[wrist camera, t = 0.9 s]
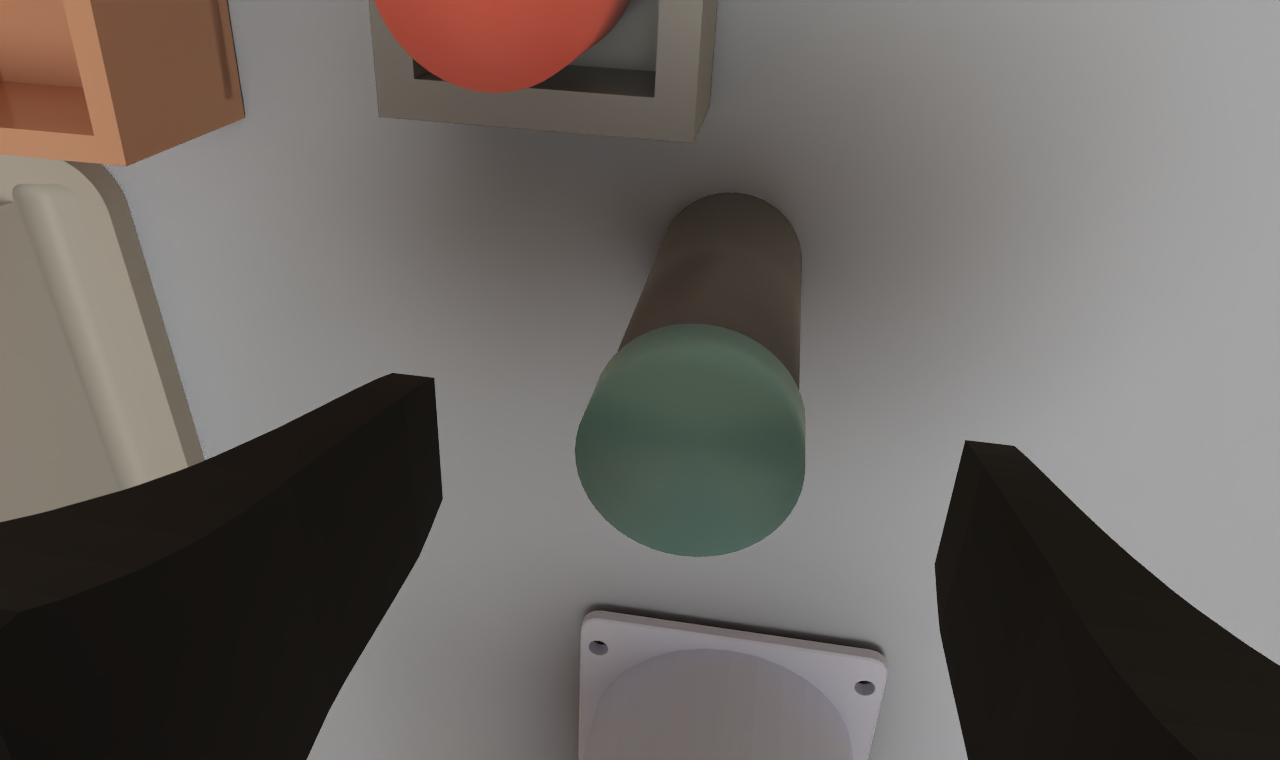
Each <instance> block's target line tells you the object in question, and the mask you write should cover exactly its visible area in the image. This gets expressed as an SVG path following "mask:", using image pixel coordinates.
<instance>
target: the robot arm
mask: <svg viewBox="0 0 1280 760" xmlns="http://www.w3.org/2000/svg"><path fill="white" fill-rule="evenodd" d="M442 499H443V497H442V482H441V468H440V454H439V440H438V426H437V412H436V398H435V384H434V378H430V377H422V376H413V375H405V374H396V373H391V374H389V375H386V376H383V377H381V378H378V379H376V380H374V381H372V382H370V383H367V384H365V385H363V386H361V387H359V388H357V389H355V390H353V391H351V392H349V393H347V394H345V395H343V396H341V397H339V398H337V399H335V400H333V401H331V402H329V403H327V404H325V405H323V406H321V407H319V408H317V409H315V410H313V411H311V412H309V413H307V414H305V415H303V416H301V417H299V418H297V419H295V420H293V421H291V422H289V423H287V424H285V425H283V426H281V427H279V428H277V429H275V430H272V431H270V432H268V433H266V434H264V435H261V436H259V437H257V438H255V439H252V440H250V441H248V442H246V443H244V444H241V445H239V446H237V447H235V448H233V449H230V450H228V451H226V452H224V453H221V454H219V455H217V456H215V457H212V458H210V459H207V460H205V461H203V462H200V463H198V464H195V465H192V466H190V467H187V468H185V469H182V470H180V471H177V472H174V473H171V474H168V475H166V476H163V477H160V478H157V479H154V480H151V481H149V482H146V483H143V484H140V485H137V486H134V487H131V488H128V489H125V490H121V491H118V492H114V493H111V494H107V495H104V496H100V497H97V498H93V499H90V500H86V501H82V502H79V503H75V504H72V505H68V506H65V507H61V508H58V509H54V510H51V511H47V512H43V513H39V514H34V515H30V516H26V517H21V518H17V519H12V520H8V521H4V522H0V760H306V759H307V757H308V755H309V753H310V751H311V749H312V746H313V744H314V742H315V740H316V738H317V735H318V733H319V731H320V729H321V727H322V725H323V722H324V720H325V718H326V716H327V714H328V712H329V710H330V708H331V706H332V704H333V702H334V700H335V698H336V697H337V695H338V693H339V691H340V689H341V687H342V685H343V684H344V682H345V680H346V678H347V677H348V675H349V673H350V672H351V670H352V668H353V667H354V665H355V663H356V662H357V660H358V658H359V657H360V655H361V653H362V652H363V650H364V648H365V647H366V645H367V643H368V642H369V640H370V638H371V637H372V635H373V633H374V632H375V630H376V628H377V627H378V625H379V623H380V622H381V620H382V619H383V617H384V615H385V614H386V612H387V610H388V609H389V607H390V605H391V604H392V602H393V600H394V599H395V597H396V595H397V593H398V592H399V590H400V588H401V587H402V585H403V583H404V582H405V580H406V578H407V576H408V575H409V573H410V571H411V570H412V568H413V566H414V564H415V563H416V561H417V559H418V557H419V555H420V553H421V551H422V548H423V546H424V544H425V541H426V539H427V537H428V534H429V532H430V530H431V527H432V524H433V522H434V519H435V517H436V514H437V512H438V509H439V507H440V504H441V502H442ZM935 574H936V590H937V604H938V615H939V627H940V634H941V638H942V643H943V648H944V653H945V657H946V662H947V667H948V671H949V676H950V680H951V685H952V689H953V694H954V698H955V703H956V707H957V712H958V716H959V721H960V725H961V729H962V734H963V738H964V743H965V747H966V752H967V756H968V760H1280V666H1279V665H1278V664H1276V663H1274V662H1273V661H1271V660H1270V659H1268V658H1267V657H1265V656H1264V655H1262V654H1261V653H1259V652H1257V651H1256V650H1254V649H1253V648H1251V647H1250V646H1248V645H1247V644H1245V643H1244V642H1242V641H1241V640H1239V639H1238V638H1237V637H1235V636H1234V635H1232V634H1231V633H1230V632H1228V631H1227V630H1225V629H1224V628H1223V627H1221V626H1220V625H1218V624H1217V623H1216V622H1214V621H1213V620H1211V619H1210V618H1209V617H1207V616H1206V615H1204V614H1203V613H1202V612H1200V611H1199V610H1197V609H1196V608H1195V607H1193V606H1192V605H1191V604H1189V603H1188V602H1187V601H1185V600H1184V599H1183V598H1182V597H1180V596H1179V595H1178V594H1176V593H1175V592H1174V591H1173V590H1171V589H1170V588H1169V587H1168V586H1166V585H1165V584H1164V583H1163V582H1162V581H1160V580H1159V579H1158V578H1157V577H1156V576H1154V575H1153V574H1152V573H1151V572H1150V571H1148V570H1147V569H1146V568H1145V567H1144V566H1142V565H1141V564H1140V563H1139V562H1138V561H1136V560H1135V559H1134V558H1133V557H1132V556H1131V555H1129V554H1128V553H1127V552H1126V551H1125V550H1124V549H1123V548H1121V547H1120V546H1119V545H1118V544H1117V543H1116V542H1115V541H1114V540H1112V539H1111V538H1110V537H1109V536H1108V535H1107V534H1106V533H1105V532H1104V531H1103V530H1102V529H1101V528H1099V527H1098V526H1097V525H1096V524H1095V523H1094V522H1093V521H1092V520H1091V519H1090V518H1089V517H1088V516H1087V515H1086V514H1085V513H1084V512H1083V511H1082V510H1080V509H1079V508H1078V507H1077V506H1076V505H1075V504H1074V503H1073V502H1072V501H1071V500H1070V499H1069V498H1068V497H1067V496H1066V495H1065V494H1064V493H1063V492H1062V491H1061V490H1060V489H1059V488H1058V487H1057V486H1056V485H1055V484H1054V483H1053V482H1052V481H1051V480H1050V479H1049V478H1048V477H1047V476H1046V475H1045V474H1044V473H1043V472H1042V471H1041V470H1040V469H1039V468H1038V467H1037V466H1036V465H1035V464H1033V463H1032V462H1031V461H1030V460H1029V459H1028V458H1027V457H1026V456H1025V455H1024V454H1023V453H1022V452H1021V451H1019V450H1018V449H1017V448H1016V447H1015V446H1010V445H1001V444H993V443H984V442H976V441H967V440H965V444H964V448H963V452H962V456H961V460H960V464H959V468H958V472H957V476H956V481H955V485H954V489H953V493H952V497H951V501H950V505H949V509H948V513H947V517H946V521H945V525H944V529H943V533H942V537H941V541H940V545H939V549H938V553H937V558H936V562H935ZM594 641H601V642H604V643H605V644H606V645H600V644H597V643H595V642H594ZM887 676H888V672H887V661H886V659H885V658H884V656H883V655H881V654H880V653H879V652H877V651H873V650H870V649H863V648H856V647H849V646H842V645H835V644H828V643H821V642H814V641H808V640H801V639H794V638H787V637H780V636H773V635H766V634H759V633H752V632H746V631H739V630H732V629H725V628H718V627H711V626H704V625H697V624H691V623H684V622H677V621H670V620H663V619H656V618H649V617H642V616H635V615H629V614H622V613H615V612H608V611H592V612H590V613H588V614H587V615H586V616H585V617H584V620H583V624H582V627H581V639H580V696H579V752H578V760H868V758H869V754H870V749H871V745H872V741H873V736H874V732H875V728H876V723H877V719H878V715H879V711H880V706H881V702H882V698H883V693H884V689H885V685H886V680H887ZM859 681H869V682H871V683H869V684H861V683H858V682H859Z"/></svg>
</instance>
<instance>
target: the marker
mask: <svg viewBox="0 0 1280 760" xmlns="http://www.w3.org/2000/svg"><path fill="white" fill-rule="evenodd" d="M801 273H802V256H801V248H800V244H799V241H798V238H797V235H796V233H795V231H794V229H793V227H792V226H791V224H790V223H789V222H788V220H787V219H786V218H785V217H784V216H783V215H782V214H781V212H779V211H778V210H777V209H776V208H774V207H773V206H772V205H770V204H768V203H767V202H765V201H763V200H761V199H758V198H756V197H753V196H749V195H746V194H739V193H722V194H715V195H711V196H708V197H705V198H702V199H700V200H698V201H696V202H694V203H692V204H691V205H689V206H688V207H687V208H685V209H684V210H683V211H682V212H681V213H680V214H679V215H678V216H677V217H676V218H675V220H674V221H673V222H672V224H671V225H670V227H669V229H668V230H667V233H666V235H665V238H664V240H663V242H662V245H661V247H660V250H659V252H658V255H657V257H656V259H655V262H654V264H653V267H652V269H651V272H650V274H649V276H648V279H647V281H646V284H645V286H644V289H643V291H642V293H641V296H640V298H639V301H638V303H637V306H636V308H635V310H634V313H633V315H632V318H631V320H630V323H629V325H628V327H627V330H626V332H625V335H624V337H623V340H622V342H621V344H620V347H619V349H618V352H617V353H616V354H615V355H614V356H613V358H612V359H611V360H610V361H609V362H608V364H607V365H606V367H605V369H604V370H603V372H602V374H601V376H600V378H599V380H598V383H597V385H596V387H595V390H594V392H593V394H592V397H591V399H590V402H589V404H588V406H587V409H586V411H585V413H584V416H583V418H582V420H581V423H580V425H579V429H578V433H577V437H576V446H575V456H576V465H577V470H578V475H579V478H580V480H581V483H582V486H583V488H584V490H585V492H586V494H587V496H588V498H589V499H590V501H591V502H592V504H593V505H594V506H595V508H596V509H597V510H598V512H599V513H600V514H601V515H602V516H603V517H604V518H605V519H606V520H607V521H608V522H609V523H610V524H611V525H613V526H614V527H615V528H616V529H617V530H619V531H620V532H622V533H623V534H625V535H626V536H627V537H629V538H631V539H633V540H635V541H637V542H638V543H640V544H643V545H645V546H648V547H650V548H652V549H656V550H659V551H662V552H666V553H670V554H676V555H681V556H693V557H702V556H715V555H723V554H727V553H731V552H735V551H738V550H741V549H744V548H746V547H749V546H751V545H753V544H755V543H757V542H759V541H761V540H762V539H764V538H765V537H767V536H768V535H769V534H771V533H772V532H773V531H774V530H776V529H777V528H778V527H779V526H780V525H781V524H782V523H783V522H784V520H785V519H786V518H787V517H788V516H789V514H790V513H791V511H792V510H793V508H794V506H795V505H796V503H797V500H798V498H799V496H800V493H801V490H802V486H803V482H804V474H805V410H804V405H803V401H802V397H801V394H800V392H799V373H800V323H801Z"/></svg>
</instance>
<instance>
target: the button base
mask: <svg viewBox="0 0 1280 760" xmlns="http://www.w3.org/2000/svg"><path fill="white" fill-rule="evenodd" d="M717 4H718V0H631V1H630V2H629V4H628V6H627V8H626V10H625V12H624V14H623V15H622V17H621V18H620V20H619V21H618V23H617V24H616V25H615V27H614V28H613V29H612V30H611V31H610V32H609V33H608V34H607V35H606V36H605V37H604V38H603V39H601V40H600V41H599V42H598V43H597V44H595V45H594V46H593V47H591V48H590V49H588V50H587V51H586V52H584V53H583V54H582V55H580V56H579V57H578V58H576V59H575V60H574V61H572V62H571V63H570V64H568V65H567V66H566V67H564V68H563V69H561V70H560V71H559V72H557V73H556V74H554V75H553V76H551V77H550V78H548V79H546V80H545V81H543V82H541V83H538V84H536V85H534V86H532V87H528V88H525V89H521V90H518V91H512V92H504V93H486V92H480V91H473V90H469V89H466V88H462V87H459V86H456V85H454V84H451V83H449V82H447V81H444V80H443V79H441V78H439V77H437V76H436V75H434V74H432V73H431V72H429V71H428V70H427V69H425V68H424V67H423V66H421V65H420V64H419V63H417V62H416V61H415V60H414V59H413V58H412V57H411V56H410V55H409V54H408V53H407V52H406V51H405V50H404V49H403V48H402V46H401V45H400V44H399V43H398V42H397V40H396V39H395V38H394V36H393V35H392V33H391V32H390V30H389V29H388V27H387V26H386V24H385V22H384V20H383V19H382V17H381V15H380V13H379V11H378V9H377V6H376V4H375V1H374V0H369V9H370V20H371V32H372V43H373V55H374V66H375V77H376V89H377V100H378V111H379V117H386V118H398V119H410V120H422V121H434V122H446V123H458V124H470V125H482V126H494V127H506V128H518V129H530V130H542V131H554V132H566V133H578V134H590V135H602V136H614V137H626V138H638V139H650V140H662V141H674V142H686V143H693V142H694V140H695V138H696V135H697V133H698V131H699V129H700V127H701V124H702V122H703V120H704V118H705V116H706V113H707V111H708V109H709V107H710V94H711V82H712V69H713V56H714V43H715V30H716V17H717Z"/></svg>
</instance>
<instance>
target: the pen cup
mask: <svg viewBox="0 0 1280 760" xmlns="http://www.w3.org/2000/svg"><path fill="white" fill-rule="evenodd" d="M243 118H245V116H244V109H243V103H242V96H241V90H240V84H239V77H238V71H237V64H236V58H235V51H234V45H233V38H232V32H231V26H230V19H229V13H228V6H227V0H0V155H11V156H22V157H32V158H43V159H54V160H65V161H75V162H86V163H97V164H107V165H118V166H128V165H131V164H133V163H136V162H138V161H140V160H143V159H145V158H148V157H150V156H153V155H155V154H158V153H160V152H162V151H165V150H167V149H170V148H172V147H175V146H177V145H179V144H182V143H184V142H187V141H189V140H192V139H194V138H196V137H199V136H201V135H204V134H206V133H209V132H211V131H214V130H216V129H218V128H221V127H223V126H226V125H228V124H231V123H233V122H235V121H238V120H240V119H243Z"/></svg>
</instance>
